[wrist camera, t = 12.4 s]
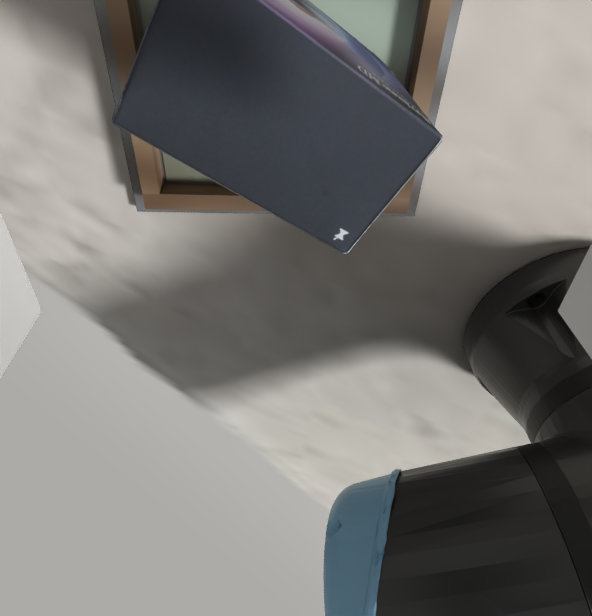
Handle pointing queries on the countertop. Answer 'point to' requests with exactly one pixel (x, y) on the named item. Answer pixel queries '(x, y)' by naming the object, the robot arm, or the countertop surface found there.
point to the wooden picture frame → (345, 12)
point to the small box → (277, 111)
